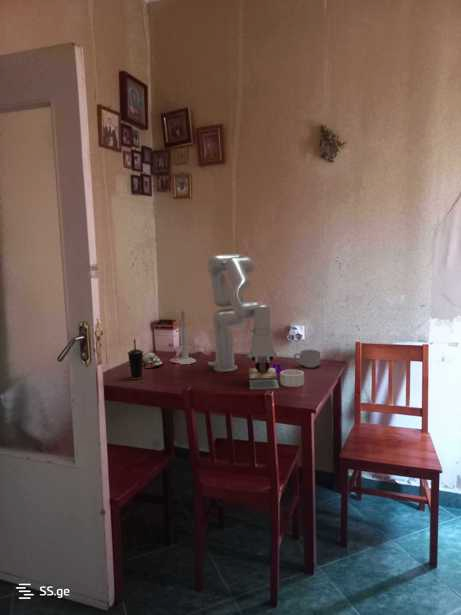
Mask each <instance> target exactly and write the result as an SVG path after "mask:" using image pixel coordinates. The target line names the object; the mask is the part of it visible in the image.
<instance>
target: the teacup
mask: <svg viewBox="0 0 461 615" xmlns="http://www.w3.org/2000/svg"><path fill="white" fill-rule="evenodd" d="M321 354H322V352H321V351H320V350H316V349H311V348H310V349H309V348H308V349H302V350H300V351H299V352H295V353H294V355H293V359H294V360H295V362H297V363H298V364H301V365H302V366H303V367H304V368H307V369H313V368H317V367H318V366H319V365H320V364H321ZM297 356H299V359H297Z"/></svg>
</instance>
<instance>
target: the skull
mask: <svg viewBox="0 0 461 615" xmlns="http://www.w3.org/2000/svg"><path fill="white" fill-rule="evenodd" d="M162 363H163V362H162V361H161V359H160V358H159V357H158V356H157V355H156V353H154V352H147V353H145V354H144V355H143V360H142V365H159V364H162Z"/></svg>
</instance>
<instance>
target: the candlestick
mask: <svg viewBox="0 0 461 615" xmlns="http://www.w3.org/2000/svg"><path fill="white" fill-rule="evenodd" d="M180 315H181V316H180V317H181V322H180V325H181V357H180V358H177V359H176V360H177V361H178V363H180V364H191V363H194V362H196V360H197V359H195V358H192V357H189V350H188V341H187V340H188V338H187V329H186V326H187V322H186V312H185V310H181V312H180Z"/></svg>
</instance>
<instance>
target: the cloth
mask: <svg viewBox="0 0 461 615" xmlns="http://www.w3.org/2000/svg"><path fill="white" fill-rule="evenodd" d="M269 368H275V371H276V375H277V376H279V377H280V372H282V371H284V370H292V368H282V369H281V365H280V363H279V362H275V363H273V365H271V366H269Z"/></svg>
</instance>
